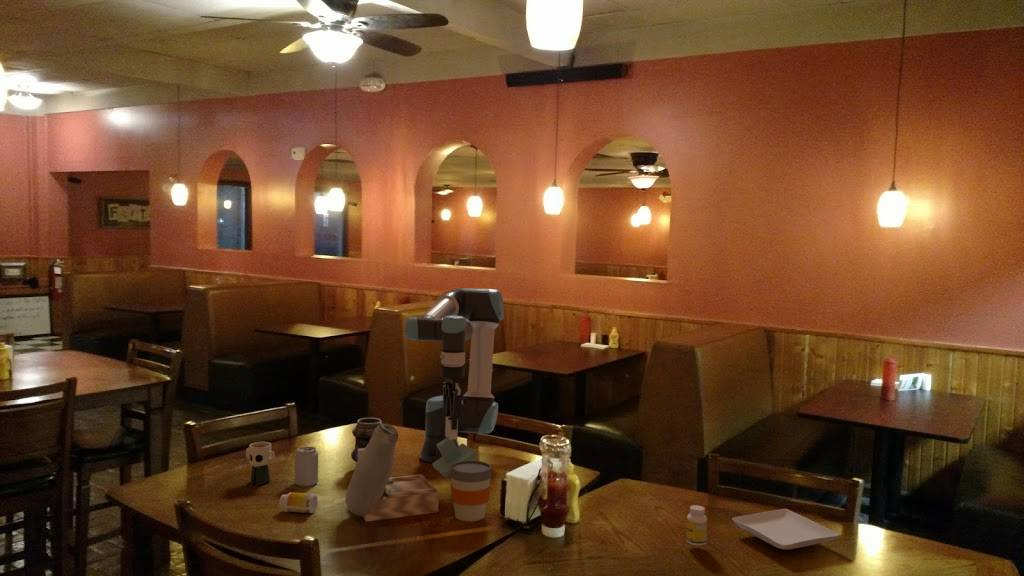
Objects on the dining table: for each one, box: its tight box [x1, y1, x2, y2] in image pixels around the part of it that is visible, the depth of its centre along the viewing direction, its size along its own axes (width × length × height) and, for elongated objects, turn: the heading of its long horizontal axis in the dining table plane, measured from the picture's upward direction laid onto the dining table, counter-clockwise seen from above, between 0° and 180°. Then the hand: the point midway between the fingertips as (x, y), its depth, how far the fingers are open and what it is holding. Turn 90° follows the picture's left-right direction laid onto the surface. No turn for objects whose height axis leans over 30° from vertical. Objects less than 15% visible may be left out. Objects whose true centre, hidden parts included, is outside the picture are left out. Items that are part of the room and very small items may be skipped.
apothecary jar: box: [350, 417, 383, 463], centre depth 261 cm, size 12×12×18 cm
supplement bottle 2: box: [685, 504, 708, 546], centre depth 206 cm, size 5×5×10 cm
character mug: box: [245, 441, 276, 486], centre depth 245 cm, size 11×7×13 cm, turn 72°
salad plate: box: [731, 508, 840, 550], centre depth 212 cm, size 21×21×3 cm
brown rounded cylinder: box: [345, 423, 399, 517], centre depth 217 cm, size 10×10×28 cm
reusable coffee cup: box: [449, 459, 493, 522], centre depth 221 cm, size 13×12×15 cm
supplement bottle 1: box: [279, 491, 319, 514], centre depth 221 cm, size 6×6×10 cm
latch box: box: [361, 473, 440, 522], centre depth 226 cm, size 22×16×7 cm
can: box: [294, 446, 319, 488], centre depth 245 cm, size 8×8×12 cm
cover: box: [431, 437, 478, 478], centre depth 236 cm, size 12×12×8 cm
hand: (451, 437), depth 236 cm, fingers closed on cover, 2 cm apart
